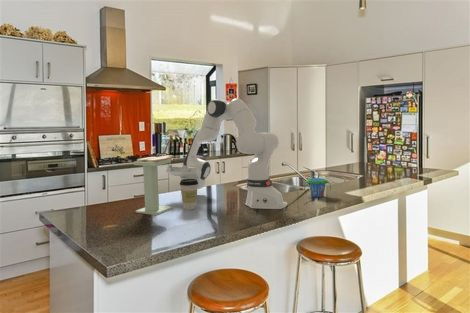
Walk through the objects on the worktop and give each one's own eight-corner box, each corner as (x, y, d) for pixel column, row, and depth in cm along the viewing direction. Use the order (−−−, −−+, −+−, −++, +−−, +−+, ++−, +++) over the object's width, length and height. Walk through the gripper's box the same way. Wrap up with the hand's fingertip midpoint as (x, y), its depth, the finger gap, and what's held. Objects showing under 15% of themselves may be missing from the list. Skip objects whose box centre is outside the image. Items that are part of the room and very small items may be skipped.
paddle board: (179, 157, 204) (179, 155, 203) (156, 162, 185) (156, 160, 185) (161, 157, 209) (161, 155, 209) (136, 161, 190) (136, 159, 190)
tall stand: (172, 208, 198) (171, 159, 195) (156, 215, 186) (154, 163, 183) (152, 206, 204) (150, 158, 201) (135, 212, 191) (133, 162, 188)
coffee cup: (195, 210, 193) (194, 182, 191) (177, 210, 195) (176, 181, 193) (201, 206, 202) (200, 178, 201) (183, 205, 204) (183, 178, 202)
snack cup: (302, 197, 219) (302, 180, 218) (305, 193, 229) (305, 177, 228) (329, 199, 214) (330, 181, 212) (331, 195, 223) (331, 178, 222)
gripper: (174, 169, 228) (162, 160, 217) (204, 171, 220) (192, 161, 208) (172, 179, 226) (159, 170, 215) (201, 181, 218) (190, 172, 206)
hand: (176, 166), depth 211 cm, fingers open, 8 cm apart
